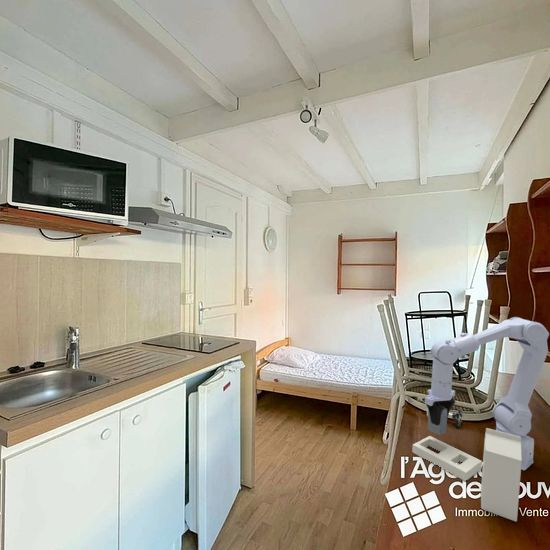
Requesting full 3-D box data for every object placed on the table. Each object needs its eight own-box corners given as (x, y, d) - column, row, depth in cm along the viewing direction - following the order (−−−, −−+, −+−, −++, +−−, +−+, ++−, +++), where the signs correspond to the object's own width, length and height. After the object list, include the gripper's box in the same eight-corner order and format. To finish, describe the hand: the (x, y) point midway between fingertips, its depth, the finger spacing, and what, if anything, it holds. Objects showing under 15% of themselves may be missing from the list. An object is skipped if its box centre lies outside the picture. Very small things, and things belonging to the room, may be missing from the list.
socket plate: (481, 469, 96) (481, 460, 96) (465, 481, 90) (465, 472, 90) (429, 443, 109) (429, 435, 109) (412, 452, 103) (412, 444, 103)
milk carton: (516, 522, 76) (522, 443, 75) (481, 509, 80) (486, 434, 79) (513, 504, 82) (519, 430, 81) (480, 492, 86) (485, 422, 85)
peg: (446, 432, 104) (447, 407, 103) (439, 435, 101) (441, 410, 101) (434, 426, 107) (435, 402, 107) (427, 429, 105) (428, 405, 104)
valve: (423, 417, 127) (457, 429, 119) (424, 401, 127) (458, 412, 118) (429, 412, 132) (462, 423, 124) (430, 396, 131) (463, 406, 123)
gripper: (441, 372, 111) (438, 411, 111) (417, 380, 102) (414, 422, 103) (462, 379, 105) (459, 420, 105) (439, 388, 96) (435, 432, 97)
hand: (438, 422), depth 104 cm, fingers closed on peg, 4 cm apart
